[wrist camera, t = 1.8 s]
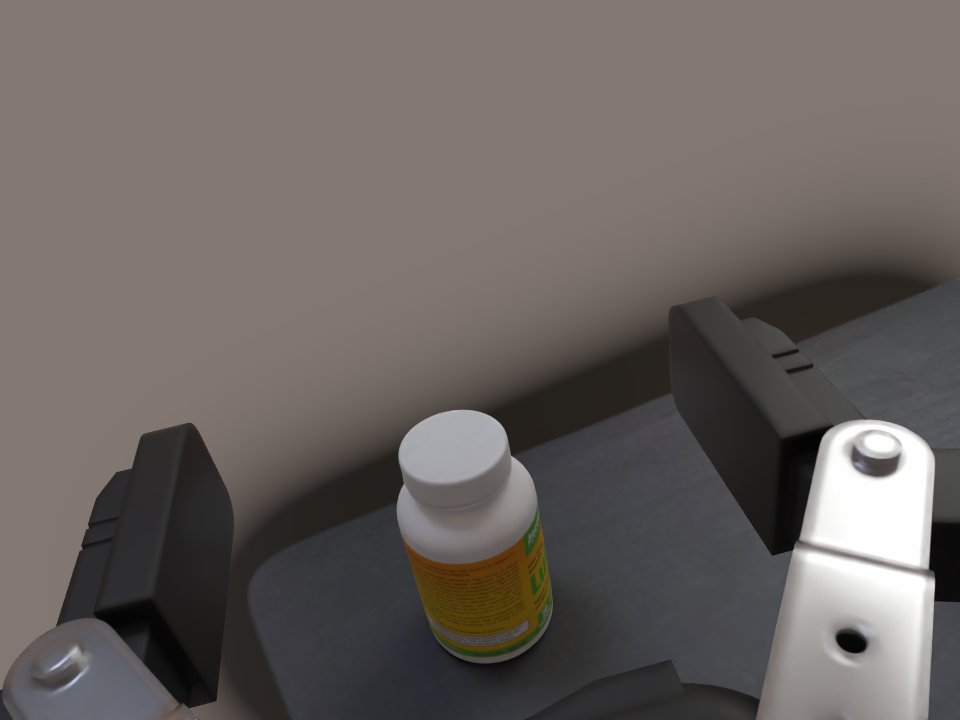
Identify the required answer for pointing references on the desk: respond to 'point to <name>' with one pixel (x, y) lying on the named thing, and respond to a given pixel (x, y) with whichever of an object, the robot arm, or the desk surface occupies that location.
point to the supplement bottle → (473, 537)
